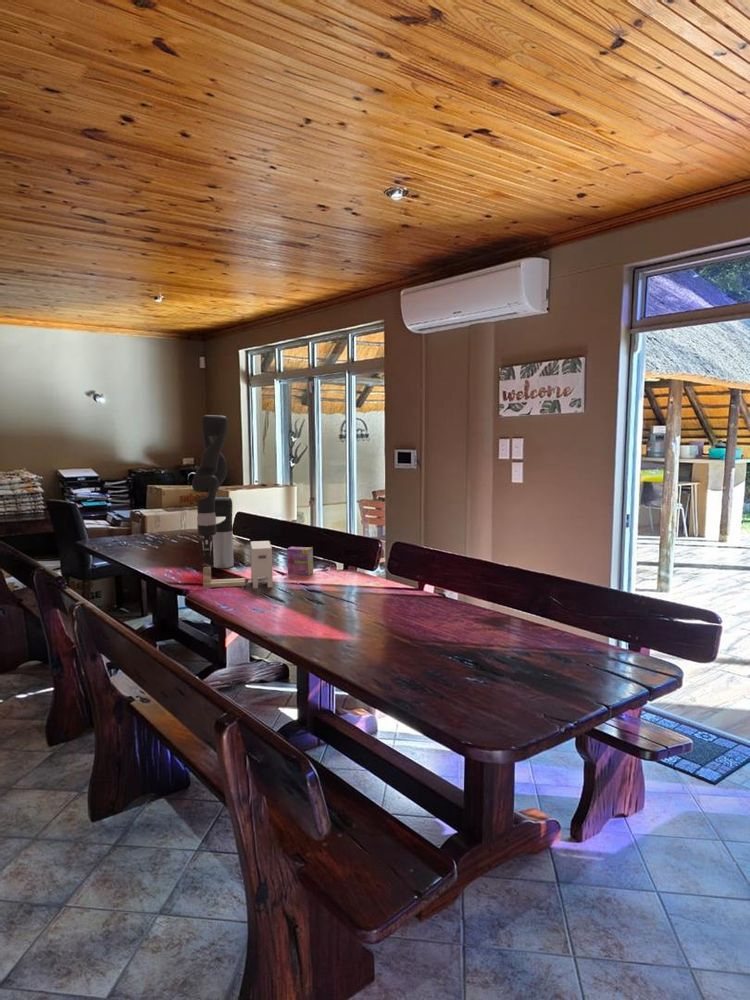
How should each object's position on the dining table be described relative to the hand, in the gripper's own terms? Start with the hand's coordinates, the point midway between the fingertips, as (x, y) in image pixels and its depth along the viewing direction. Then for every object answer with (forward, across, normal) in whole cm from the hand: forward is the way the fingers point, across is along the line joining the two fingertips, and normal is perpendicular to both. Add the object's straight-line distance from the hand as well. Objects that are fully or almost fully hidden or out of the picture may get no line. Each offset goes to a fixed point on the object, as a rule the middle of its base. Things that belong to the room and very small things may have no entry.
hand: (207, 561), depth 266 cm
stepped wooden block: (+11, -1, +6) cm, 12 cm away
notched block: (+10, 0, +22) cm, 24 cm away
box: (+10, -14, +40) cm, 44 cm away
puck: (+10, 0, +22) cm, 24 cm away
